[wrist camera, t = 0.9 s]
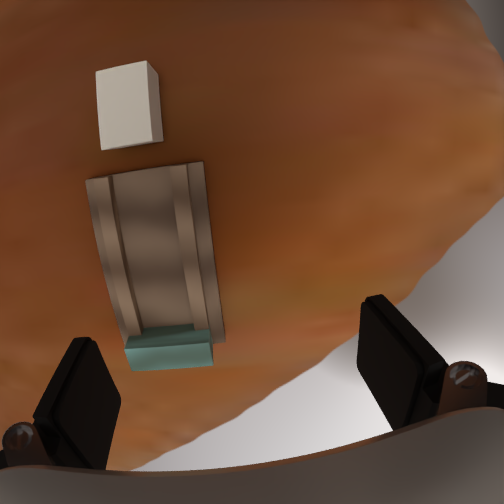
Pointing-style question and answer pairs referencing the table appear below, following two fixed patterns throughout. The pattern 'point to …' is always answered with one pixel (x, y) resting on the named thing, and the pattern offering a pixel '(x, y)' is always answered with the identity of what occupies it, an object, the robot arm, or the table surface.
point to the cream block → (128, 106)
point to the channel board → (159, 264)
